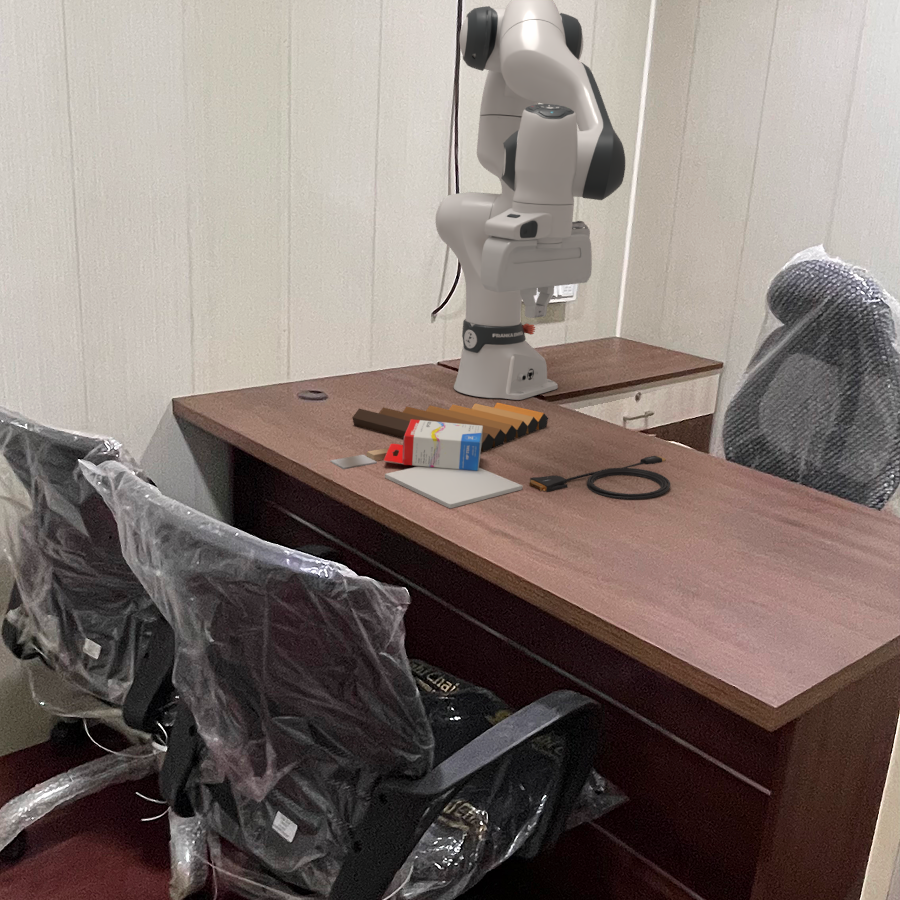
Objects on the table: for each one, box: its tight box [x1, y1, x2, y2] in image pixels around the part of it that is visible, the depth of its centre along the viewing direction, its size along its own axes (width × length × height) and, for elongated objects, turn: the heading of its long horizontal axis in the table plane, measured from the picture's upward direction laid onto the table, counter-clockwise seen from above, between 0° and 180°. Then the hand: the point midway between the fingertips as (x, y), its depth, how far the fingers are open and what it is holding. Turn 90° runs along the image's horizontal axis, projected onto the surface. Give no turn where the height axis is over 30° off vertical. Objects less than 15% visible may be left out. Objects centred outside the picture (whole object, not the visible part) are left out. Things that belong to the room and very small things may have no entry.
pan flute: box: [351, 402, 549, 453], centre depth 170 cm, size 25×3×25 cm
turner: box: [329, 447, 399, 470], centre depth 151 cm, size 15×4×1 cm, turn 127°
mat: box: [384, 466, 523, 509], centre depth 142 cm, size 14×15×1 cm
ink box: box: [383, 419, 483, 471], centre depth 149 cm, size 8×5×15 cm
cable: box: [528, 455, 671, 500], centre depth 146 cm, size 14×28×2 cm, turn 125°
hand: (535, 316), depth 144 cm, fingers closed
